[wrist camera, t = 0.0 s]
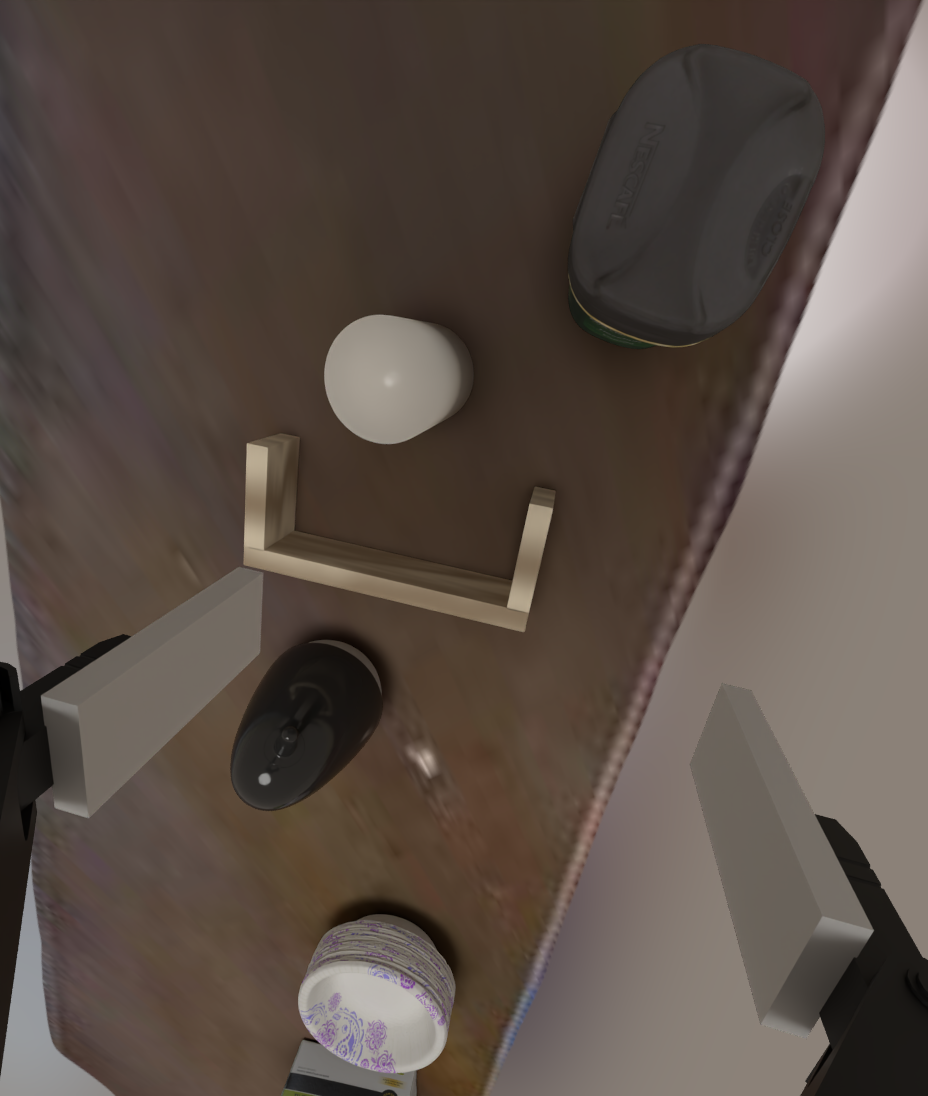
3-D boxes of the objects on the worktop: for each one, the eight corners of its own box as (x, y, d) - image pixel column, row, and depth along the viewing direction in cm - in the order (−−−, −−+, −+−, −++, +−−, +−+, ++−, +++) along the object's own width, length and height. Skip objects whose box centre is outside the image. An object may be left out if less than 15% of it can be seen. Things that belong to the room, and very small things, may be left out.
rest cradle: (281, 433, 45) (246, 443, 40) (555, 490, 42) (553, 508, 38) (275, 543, 48) (243, 564, 43) (529, 603, 46) (524, 632, 41)
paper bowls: (478, 925, 59) (464, 1008, 51) (441, 1011, 64) (423, 1096, 57) (342, 872, 60) (309, 945, 53) (317, 961, 65) (284, 1038, 58)
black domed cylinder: (416, 661, 49) (352, 786, 35) (365, 739, 53) (289, 879, 39) (316, 599, 49) (212, 700, 35) (272, 682, 53) (163, 803, 39)
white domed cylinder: (386, 314, 40) (329, 304, 31) (481, 331, 39) (452, 326, 30) (375, 413, 43) (319, 431, 34) (465, 431, 42) (433, 454, 33)
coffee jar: (664, 363, 38) (737, 376, 21) (554, 322, 38) (535, 303, 21) (736, 204, 34) (896, 61, 17) (613, 162, 35) (648, -18, 18)
